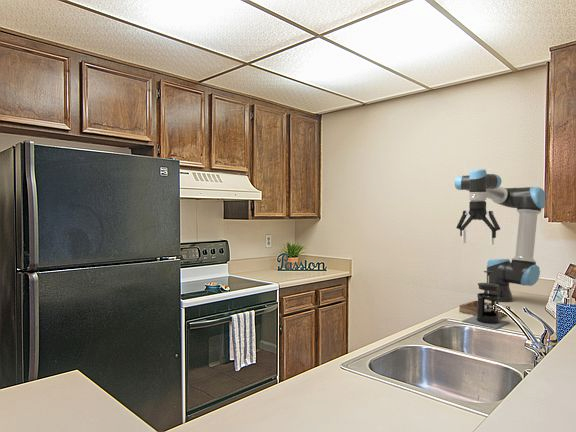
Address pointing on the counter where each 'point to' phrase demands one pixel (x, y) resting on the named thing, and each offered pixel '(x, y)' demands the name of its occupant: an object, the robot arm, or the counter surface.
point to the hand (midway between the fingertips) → (477, 243)
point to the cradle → (475, 308)
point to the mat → (494, 326)
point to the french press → (481, 314)
